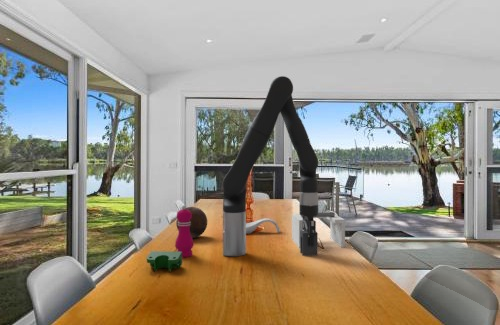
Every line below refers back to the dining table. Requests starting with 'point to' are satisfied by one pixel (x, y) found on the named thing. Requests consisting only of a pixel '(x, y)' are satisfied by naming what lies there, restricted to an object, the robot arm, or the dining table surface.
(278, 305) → the dining table surface
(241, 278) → the dining table surface
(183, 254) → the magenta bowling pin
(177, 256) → the clamp
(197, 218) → the wooden sphere
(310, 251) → the gray u-channel post
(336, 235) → the white channel bracket
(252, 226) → the white curved piece
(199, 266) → the dining table surface
